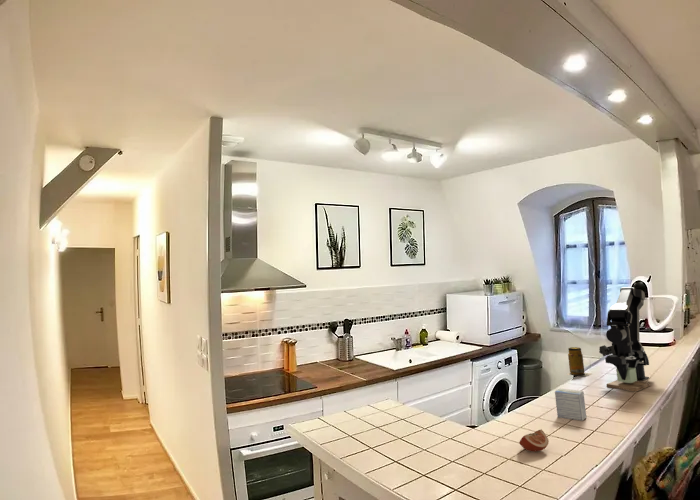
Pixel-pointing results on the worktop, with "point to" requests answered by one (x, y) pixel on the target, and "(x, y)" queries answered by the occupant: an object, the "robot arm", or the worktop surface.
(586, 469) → the worktop surface
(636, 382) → the walnut board
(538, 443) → the fruit slice
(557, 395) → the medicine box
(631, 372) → the sage cube
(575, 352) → the condiment
